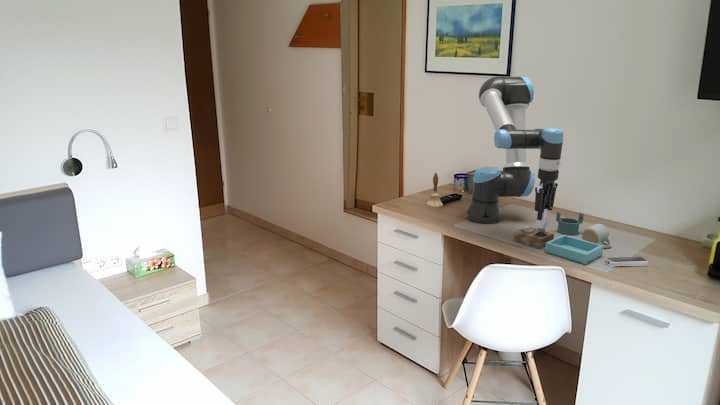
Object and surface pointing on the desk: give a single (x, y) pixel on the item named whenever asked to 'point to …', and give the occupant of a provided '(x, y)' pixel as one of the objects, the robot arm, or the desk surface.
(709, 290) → the desk surface
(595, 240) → the ceramic mug
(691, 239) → the desk surface
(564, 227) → the bracket
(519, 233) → the brown wooden block
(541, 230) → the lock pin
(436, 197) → the hand bell
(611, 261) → the multiport hub
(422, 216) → the desk surface
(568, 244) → the tray
